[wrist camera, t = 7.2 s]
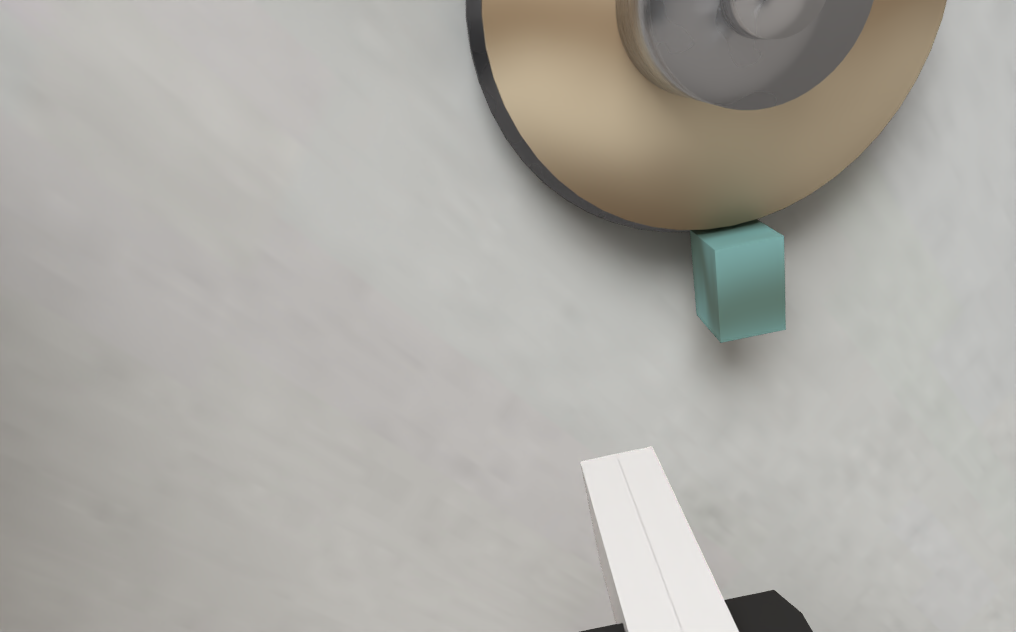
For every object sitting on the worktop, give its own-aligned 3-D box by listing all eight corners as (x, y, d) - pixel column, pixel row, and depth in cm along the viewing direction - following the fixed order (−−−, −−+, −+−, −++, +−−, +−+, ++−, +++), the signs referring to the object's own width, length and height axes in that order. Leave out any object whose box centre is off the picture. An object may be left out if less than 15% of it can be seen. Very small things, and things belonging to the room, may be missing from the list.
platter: (433, -227, 19) (429, -271, 16) (942, -337, 19) (1025, -401, 16) (541, 341, 26) (551, 377, 24) (904, 267, 26) (956, 294, 23)
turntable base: (511, 257, 26) (514, 269, 25) (415, -225, 20) (412, -245, 19) (897, 177, 26) (922, 185, 25) (925, -335, 20) (960, -363, 18)
